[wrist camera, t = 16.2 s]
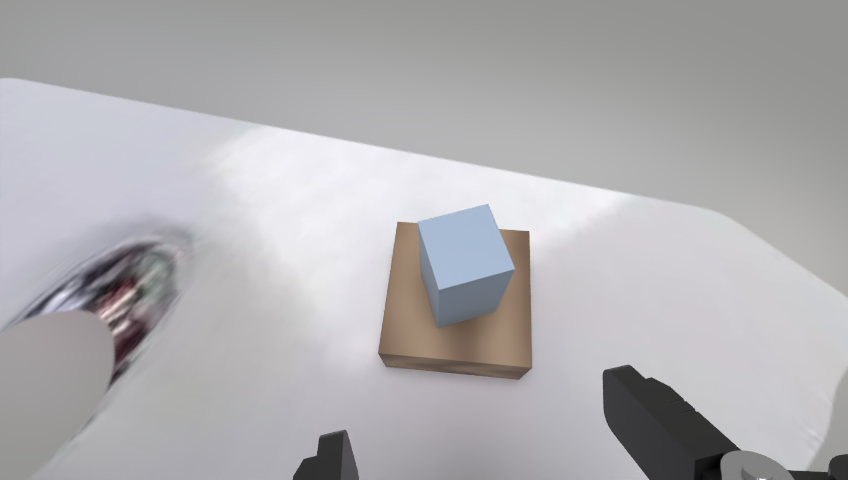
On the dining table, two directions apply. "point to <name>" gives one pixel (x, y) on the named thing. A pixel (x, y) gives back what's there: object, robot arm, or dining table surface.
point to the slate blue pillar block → (463, 264)
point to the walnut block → (464, 341)
